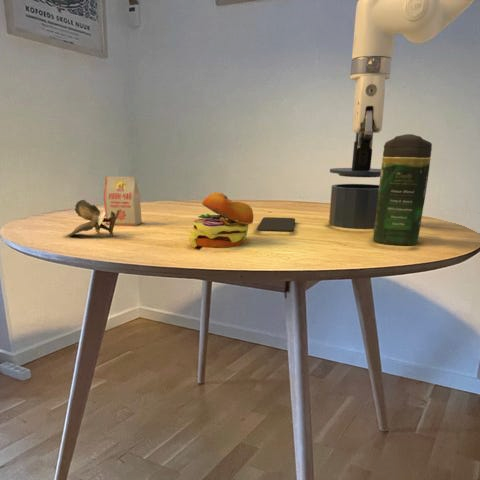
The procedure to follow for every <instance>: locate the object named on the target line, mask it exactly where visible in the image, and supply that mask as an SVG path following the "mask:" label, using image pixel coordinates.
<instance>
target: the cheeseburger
mask: <svg viewBox="0 0 480 480" xmlns="http://www.w3.org/2000/svg"><path fill="white" fill-rule="evenodd" d="M201 205H202V206H204V207H205V208H207V209H208V210H210V211H211V212H213V213H215V214H210V213H206V214H201V215H198V216H197V219H193V222H192V225H193V226H192V227H191V228H190V230H189V232H190V234H189V236H188V242H189V243H190V245H191V247H192V248H196V247H197V246H198V247H207V248H232V247H238V246H240V245H242V244H243V242H244V241H245V240H246V238H247V235H248V231H249V230H248V229H249V225H252V224H253V223H254V212H253V211H254V210H253V208H252V207H251V205H250V204H248V203H246V202H241V201H233V200H231V199H230V198H228V196H227V195H225V194H224V193H222V192H217V191H215V192H211V193H210V194H208V195H207V196H206V197H205V198H204V199H203V200H202V202H201Z"/></svg>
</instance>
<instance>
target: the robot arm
mask: <svg viewBox="0 0 480 480" xmlns="http://www.w3.org/2000/svg"><path fill="white" fill-rule="evenodd" d="M473 2H475V0H358V1H357V3H356V8H355V18H354V29H353V39H352V40H353V41H352V52H351V53H352V54H351V67H350V76H349V78H350V80H352V81H355V87H354V100H353V112H352V113H353V114H352V131H353V132H354V133H355V139H354V142H355V141H358V146H357V149H356V153H355V163H354V169H355V170H370V168H372V166H371V165H372V157H373V140H374V134H377V133H378V134H379V133H381V131H382V130H383V120H384V119H383V118H384V107H385V94H386V92H385V91H386V80H389V79H390V78H391V71H392V70H391V69H392V62H393V53H394V43H395V36H396V35H398V34H400V35H402V36H404V38H405V39H406V40H407V41H409V42H410V43H413V44H422V43H426V42H428V41H430V40H432V39H433V38H434V37H436V36H437V35H438V34H439V33H441V32H442V31H443V30H444V29H445V28H446V27H448V25H450V24H451V23H452V22H454V20H455V19H457V18H458V17H459V16H460V15H461V14H462V13H464V12H465V10H466V9H468V8H469V7H470V6H471V5H472V4H473Z"/></svg>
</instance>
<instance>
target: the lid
mask: <svg viewBox="0 0 480 480" xmlns="http://www.w3.org/2000/svg"><path fill="white" fill-rule="evenodd" d="M357 146H358V141H355V140H354V142H353V151H352V162H351V167H335V168H334V167H333V168H329V173H331V174H338V176H339V177H346V178H380V176H381V168H373V167H370V170H355V169H354V163H355V153H356V149H357Z"/></svg>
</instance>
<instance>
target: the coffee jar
mask: <svg viewBox="0 0 480 480" xmlns="http://www.w3.org/2000/svg"><path fill="white" fill-rule="evenodd" d="M432 146H433V144H432V142H430V141H428V140H426V139H424V138H422V137H421V136H419V135H417V134H412V133H406V134H401V135H395V137H394V138H391V139H390V140H387V141H386V142H385V143H384V145H383V153H382V158H381V159H382V160H381V168H380V169H381V176H380V177H379V184H378V185H379V193H378V202H377V211H376V219H375V226H374V229H373V236H372V240H373V243H375V244H379V245H380V244H381V245H385V246H395V247H396V246H398V247H399V246H400V247H412V246H413V247H414V246H416V245H417V244H418V241H419V238H420V237H419V236H420V231H421V225H422V218H423V212H424V206H425V200H426V193H427V188H428V181H429V175H430V168H431V167H430V166H431V157H432V151H433V147H432Z"/></svg>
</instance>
